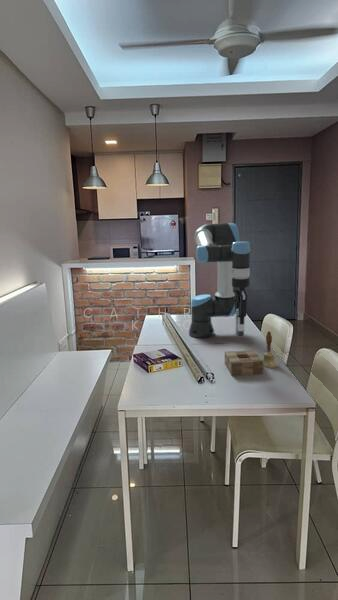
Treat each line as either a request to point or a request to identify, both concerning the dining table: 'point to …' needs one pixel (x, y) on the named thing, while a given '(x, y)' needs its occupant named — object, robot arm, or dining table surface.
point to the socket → (243, 362)
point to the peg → (238, 333)
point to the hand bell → (269, 354)
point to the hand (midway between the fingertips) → (240, 329)
